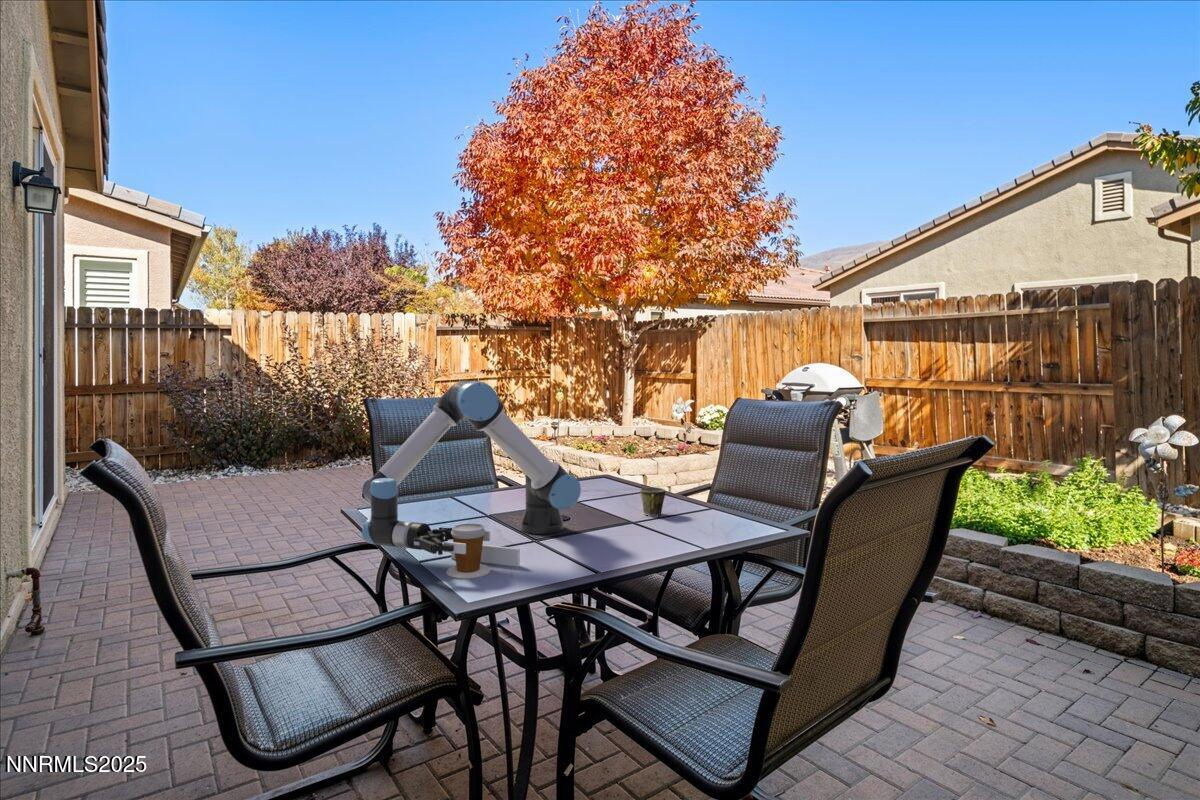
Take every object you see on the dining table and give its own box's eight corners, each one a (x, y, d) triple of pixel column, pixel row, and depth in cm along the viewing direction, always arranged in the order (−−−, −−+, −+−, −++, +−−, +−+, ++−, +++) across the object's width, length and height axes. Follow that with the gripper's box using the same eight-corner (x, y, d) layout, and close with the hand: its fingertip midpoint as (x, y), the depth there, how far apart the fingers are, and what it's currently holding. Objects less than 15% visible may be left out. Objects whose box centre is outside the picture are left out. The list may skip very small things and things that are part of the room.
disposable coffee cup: (490, 571, 182) (490, 529, 182) (456, 576, 177) (456, 533, 177) (478, 562, 190) (478, 521, 190) (446, 567, 186) (446, 525, 185)
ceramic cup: (639, 511, 260) (639, 486, 259) (664, 512, 259) (664, 487, 259) (640, 519, 247) (640, 493, 246) (666, 520, 246) (667, 493, 246)
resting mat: (494, 565, 189) (494, 564, 189) (483, 579, 177) (483, 577, 177) (454, 564, 190) (454, 562, 190) (440, 577, 178) (440, 576, 178)
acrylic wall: (451, 558, 195) (451, 542, 195) (453, 557, 197) (453, 541, 196) (518, 566, 188) (518, 549, 188) (519, 565, 189) (519, 548, 189)
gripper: (436, 537, 201) (498, 544, 194) (385, 560, 177) (454, 568, 170) (436, 513, 200) (498, 519, 194) (385, 533, 177) (454, 540, 170)
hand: (478, 542), depth 182 cm, fingers open, 13 cm apart
